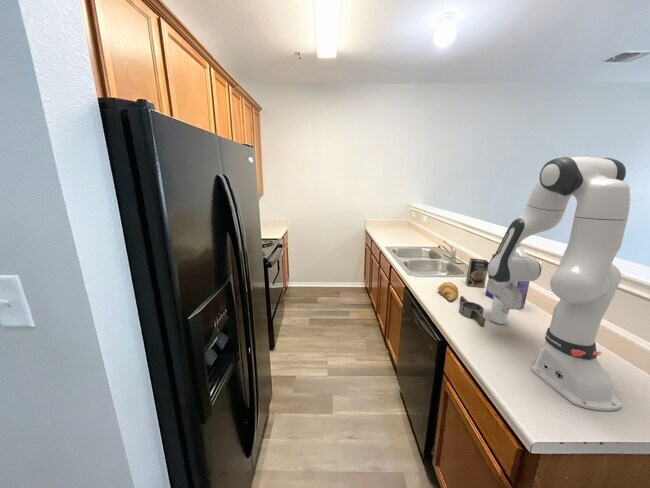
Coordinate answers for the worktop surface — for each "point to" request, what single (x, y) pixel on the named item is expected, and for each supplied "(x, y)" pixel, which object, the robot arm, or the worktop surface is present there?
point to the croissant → (448, 291)
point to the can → (498, 311)
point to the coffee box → (477, 273)
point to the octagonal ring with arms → (477, 316)
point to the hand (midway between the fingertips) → (500, 309)
